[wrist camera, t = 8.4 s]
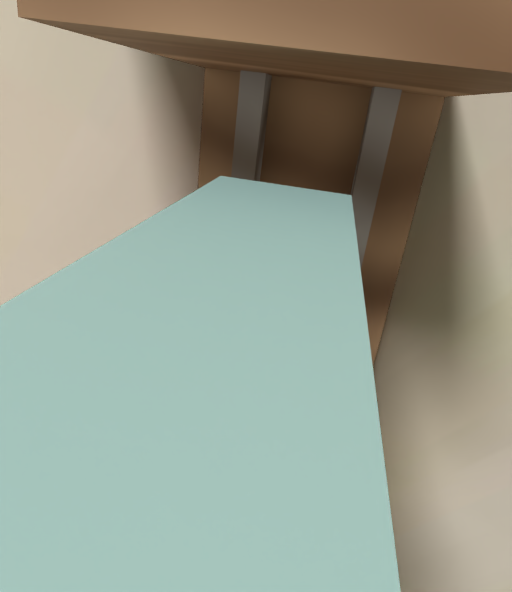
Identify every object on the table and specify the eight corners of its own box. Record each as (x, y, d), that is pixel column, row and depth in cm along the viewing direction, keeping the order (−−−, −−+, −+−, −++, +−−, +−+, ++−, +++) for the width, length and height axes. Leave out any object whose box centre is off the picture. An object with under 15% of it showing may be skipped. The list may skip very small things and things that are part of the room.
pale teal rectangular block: (220, 175, 12) (-407, 547, 2) (351, 195, 11) (422, 787, 2) (192, 532, 18) (0, 1085, 8) (278, 553, 17) (194, 1164, 7)
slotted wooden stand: (215, 27, 23) (7, -102, 9) (450, 53, 22) (666, -48, 7) (190, 397, 33) (74, 624, 19) (351, 430, 32) (360, 703, 17)
